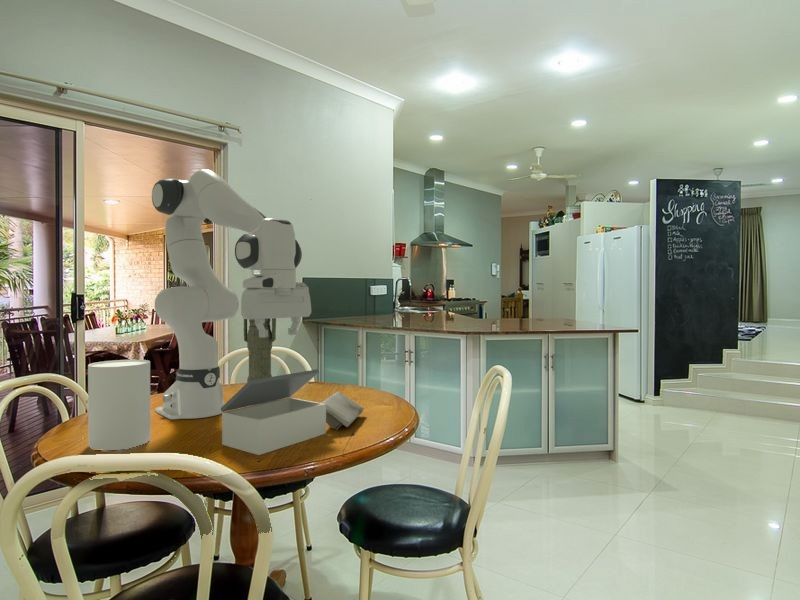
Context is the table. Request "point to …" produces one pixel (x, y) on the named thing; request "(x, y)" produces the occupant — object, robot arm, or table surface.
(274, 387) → the lid
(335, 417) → the packaged product
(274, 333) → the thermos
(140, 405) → the canister
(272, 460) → the table surface
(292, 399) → the storage box
